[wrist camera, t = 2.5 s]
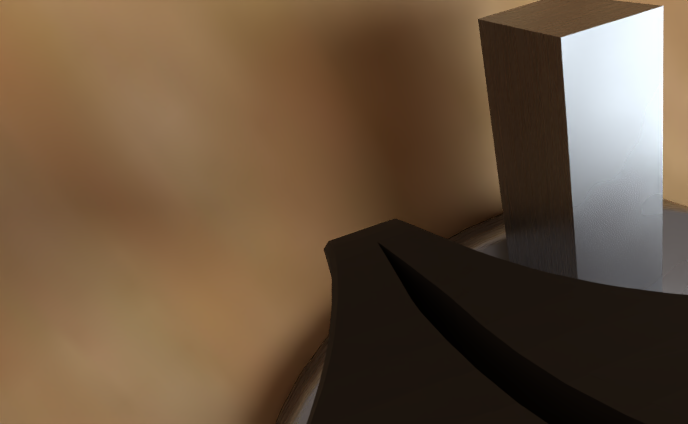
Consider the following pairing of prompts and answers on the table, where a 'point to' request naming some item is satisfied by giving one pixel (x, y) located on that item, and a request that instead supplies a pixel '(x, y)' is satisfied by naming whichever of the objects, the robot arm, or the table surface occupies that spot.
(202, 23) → the table surface
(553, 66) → the gear with bar handle
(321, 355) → the grey round disc
